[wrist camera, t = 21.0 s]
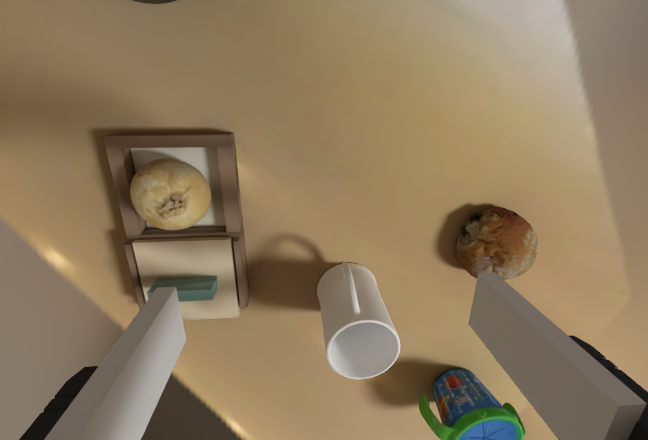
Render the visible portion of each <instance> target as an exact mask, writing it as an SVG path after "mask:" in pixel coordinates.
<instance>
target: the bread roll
mask: <svg viewBox="0 0 648 440" xmlns="http://www.w3.org/2000/svg"><path fill="white" fill-rule="evenodd" d="M536 249H537V236H536V234H535V232H534V230H533V229H532V227H531V225H530V224H529V223H528V222H527V221H526V220H525V219H524V218H522V217H521V216H519V215H518V214H516V213H515V212H513V211H511V210H507V209H505V208H491V209H486V210H484V211H482V212H480V213H475V214H473V215H471V217H470V219H469V220H468V221H467V222H466V223H465V225H464V226H463V228H462V231H461V233H460V235H459V237H458V241H457V249H456V254H457V259H458V261H459V262H460V264H461V265H462V266H463V267H465V269H466V271H467V272H468V273H469V274H471V275H472V276H473V277H475V278H478V273H496V274H497V275H498V276H499V277H500V278H502V279H503V280H507V279H511V278H514V277H517V276H519V275H522V274H524V273H525V272H526V271H527V270H529V269H530V268H531V266H532V264H533V262H534V261H535V257H536V254H537V253H536Z"/></svg>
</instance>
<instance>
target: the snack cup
mask: <svg viewBox="0 0 648 440" xmlns="http://www.w3.org/2000/svg"><path fill="white" fill-rule="evenodd" d="M433 387H434V389H433V393H434V398H435V401H436V405H437V407H438V411H439V414H440V418H441V421H442V423H440V422H439V421H438V419H437V418H436V416H435V415H434V414H433V412H432V411H431V409H430V407H429V402H428V398H427V395H426V394H425V393H424V394H423V395H422V396H421V399H420V402H419V409H420V412H421V414H422V416H423V418H424V419H425V421H426V422H427V424H428V425H429V427H430V428H431V429H432V430H433V432H434V433H435V434H436V435H437V436H438V437H439V438H440V439H441V440H523V438H524V436H525V429H524V426H523V424H522V422H521V420H520V417H519V416H518V414H517V412H516V410H515V408H514V407H513V406H512V405H511V404H509V403H505V404H504V405H503V406H502V405H501V404H500V402H499V401H498V400H497V399H496V398H495V397H494V396H493V395H492V394H491V393H490V392H489V390H488V389H487V388H486V387H485V386H484V385H483V384H482V383H481V381H480V380H479V379H478V378H477V377H476V376H475V375H474V374H473V373H472V372H471V371H467V370H465V369H457V370H454V369H452V370H449V371H448V372H446V373H444V374H443V375H441V377H439V378H438V380H437V381H436V382H434V386H433Z"/></svg>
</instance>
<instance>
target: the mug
mask: <svg viewBox="0 0 648 440" xmlns="http://www.w3.org/2000/svg"><path fill="white" fill-rule="evenodd" d="M317 296H318V300H319V302H320V307H321V315H322V324H323V332H324V340H325V348H326V356H327V360H328V363H329V365H330V366H331V368H332V369H333V370H334V371H335V372H337V373H338V374H340V375H342V376H344V377H347V378H351V379H367V378H372V377H375V376H377V375H380V374H381V373H383V372H385V371H386V370H388V369H389V368H390V367H391V366H392V365H393V364H394V362H395V361H396V359H397V357H398V355H399V352H400V340H399V337H398V334H397V332H396V330H395V328H394V325H393V323H392V321H391V318H390V316H389V314H388V312H387V309H386V307H385V305H384V302H383V300H382V298H381V296H380V293H379V291H378V289H377V283H376V280H375V277H374V276H373V274H372V273H371V272H370V271H369V270H368V269H367V268H365V267H364V266H362V265H359V264H355V263H348V262H343V263H342V264H339V265H336V266H334V267H332V268H330V269H329V270H328V271H326V272H325V273H324V274H323V276H322V277H321V279H320V281H319V283H318V286H317Z"/></svg>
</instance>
